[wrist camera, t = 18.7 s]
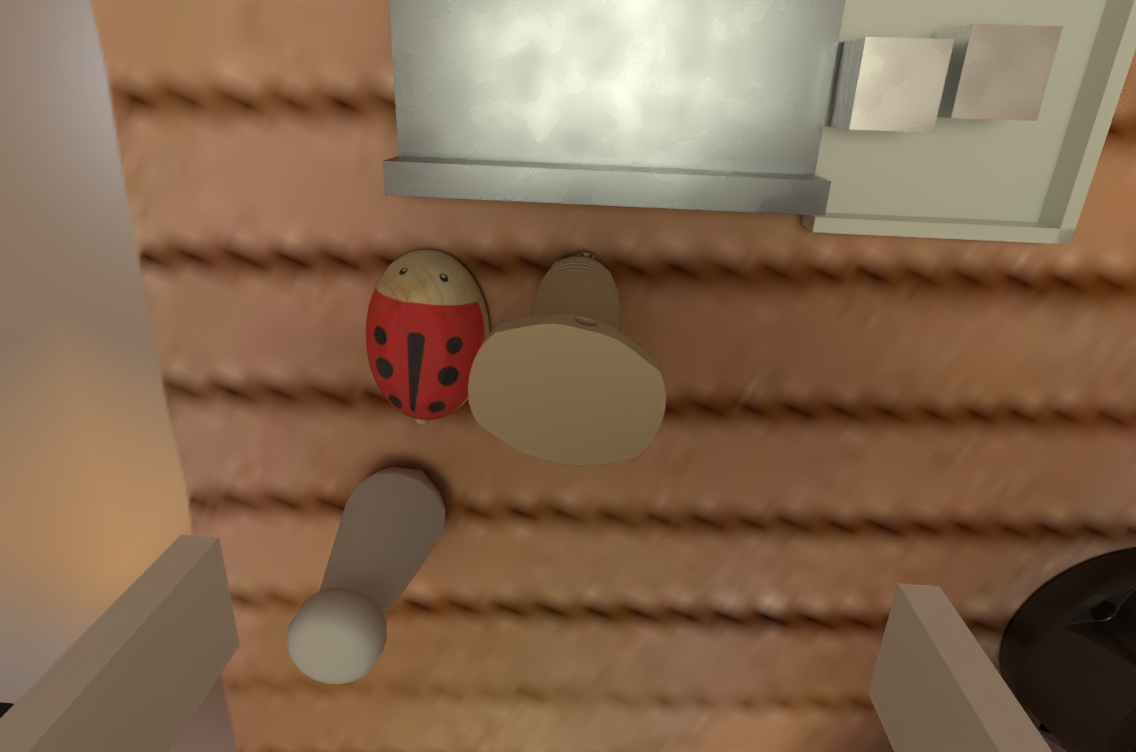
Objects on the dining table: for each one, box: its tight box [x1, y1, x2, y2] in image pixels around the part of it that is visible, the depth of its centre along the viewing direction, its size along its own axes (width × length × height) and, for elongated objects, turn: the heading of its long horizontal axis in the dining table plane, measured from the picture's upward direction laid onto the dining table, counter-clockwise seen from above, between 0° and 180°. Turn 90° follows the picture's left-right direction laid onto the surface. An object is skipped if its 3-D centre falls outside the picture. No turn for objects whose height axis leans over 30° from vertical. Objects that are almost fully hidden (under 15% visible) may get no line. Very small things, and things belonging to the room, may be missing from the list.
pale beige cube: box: [824, 37, 954, 132], centre depth 29 cm, size 4×4×4 cm
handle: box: [468, 251, 666, 467], centre depth 29 cm, size 5×6×15 cm
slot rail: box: [383, 0, 846, 216], centre depth 30 cm, size 20×11×4 cm, turn 87°
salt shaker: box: [286, 466, 445, 684], centre depth 35 cm, size 6×6×13 cm
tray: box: [800, 0, 1136, 244], centre depth 30 cm, size 12×13×2 cm
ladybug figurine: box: [366, 249, 490, 425], centre depth 36 cm, size 7×10×4 cm
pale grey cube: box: [931, 24, 1063, 121], centre depth 29 cm, size 4×4×4 cm
